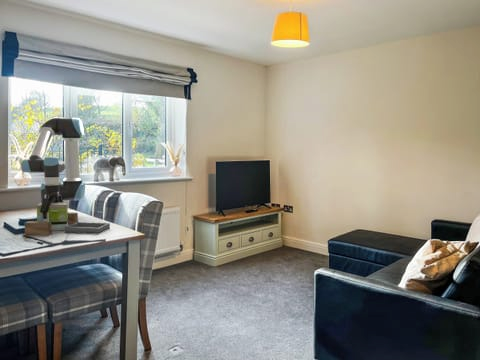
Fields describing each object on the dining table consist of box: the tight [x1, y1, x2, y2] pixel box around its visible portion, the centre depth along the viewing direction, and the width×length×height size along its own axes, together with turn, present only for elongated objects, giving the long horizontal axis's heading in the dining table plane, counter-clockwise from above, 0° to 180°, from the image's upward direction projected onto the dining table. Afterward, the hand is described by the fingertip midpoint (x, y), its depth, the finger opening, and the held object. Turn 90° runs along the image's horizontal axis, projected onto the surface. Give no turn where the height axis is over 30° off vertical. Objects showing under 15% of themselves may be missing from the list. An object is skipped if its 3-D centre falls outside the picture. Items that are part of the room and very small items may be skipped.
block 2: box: [68, 211, 79, 226], centre depth 231 cm, size 4×12×7 cm, turn 85°
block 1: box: [23, 220, 53, 237], centre depth 203 cm, size 4×12×7 cm, turn 90°
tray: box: [64, 221, 111, 235], centre depth 215 cm, size 14×19×3 cm
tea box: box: [36, 201, 69, 232], centre depth 216 cm, size 15×10×15 cm
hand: (53, 222), depth 217 cm, fingers open, 13 cm apart
